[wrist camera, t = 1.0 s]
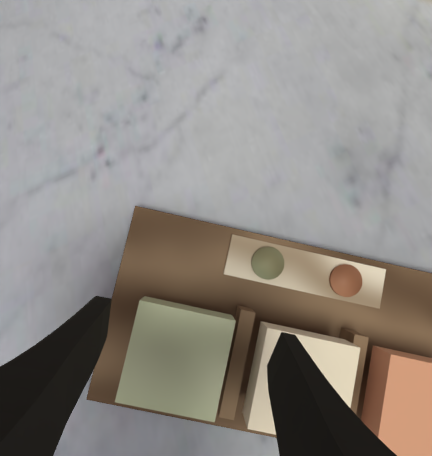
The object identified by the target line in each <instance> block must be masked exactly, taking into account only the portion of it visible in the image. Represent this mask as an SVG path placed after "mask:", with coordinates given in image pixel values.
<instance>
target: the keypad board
mask: <svg viewBox="0 0 432 456" xmlns="http://www.w3.org/2000/svg"><path fill="white" fill-rule="evenodd" d="M145 296H147V297H151V298H156V299H161V300H165V301H170V302H174V303H179V304H184V305H188V306H193V307H198V308H202V309H207V310H211V311H216V312H221V313H225V314H230V315H232V316H233V317H234V319H235V320H236V323H235V327H234V332H233V337H232V342H231V347H230V351H229V356H228V361H227V366H226V371H225V375H224V380H223V385H222V390H221V394H220V399H219V404H218V409H217V414H216V418H215V422H210V421H205V420H200V419H195V418H190V417H185V416H180V415H175V414H170V413H165V412H160V411H155V410H151V409H146V408H141V407H136V406H131V405H126V404H121V403H116V402H115V399H116V395H117V391H118V387H119V383H120V379H121V374H122V370H123V366H124V362H125V358H126V354H127V350H128V346H129V342H130V337H131V333H132V329H133V325H134V321H135V317H136V313H137V309H138V305H139V301H140V300H141V299H142V298H143V297H145ZM261 321H262V322H267V323H272V324H276V325H281V326H285V327H290V328H295V329H299V330H304V331H309V332H313V333H318V334H322V335H327V336H332V337H336V338H341V339H345V340H347V341H349V342H351V343H353V344H354V345H356V346H358V347H360V354H359V360H358V366H357V372H356V378H355V384H354V390H353V396H352V402H351V408H350V409H351V410H352V411H353V412H354V413H355V414H356V415H357V416H358V417H359V418H360V420H361V416H362V410H363V404H364V398H365V391H366V385H367V379H368V373H369V366H370V360H371V354H372V348H373V346H378V347H382V348H387V349H392V350H396V351H401V352H406V353H410V354H415V355H419V356H424V357H429V358H432V273H427V272H423V271H419V270H414V269H410V268H405V267H401V266H397V265H392V264H388V263H384V262H379V261H375V260H370V259H366V258H362V257H357V256H353V255H348V254H344V253H340V252H335V251H331V250H327V249H322V248H318V247H313V246H309V245H305V244H300V243H296V242H291V241H287V240H283V239H278V238H274V237H270V236H265V235H261V234H256V233H252V232H248V231H243V230H239V229H234V228H230V227H226V226H221V225H217V224H212V223H208V222H204V221H199V220H195V219H191V218H186V217H182V216H177V215H173V214H169V213H164V212H160V211H155V210H151V209H147V208H142V207H138V206H135V209H134V213H133V217H132V221H131V225H130V229H129V233H128V237H127V241H126V245H125V249H124V253H123V257H122V261H121V265H120V269H119V273H118V277H117V280H116V284H115V288H114V292H113V296H112V300H111V309H110V317H109V325H108V334H107V338H106V341H105V344H104V346H103V349H102V352H101V354H100V357H99V359H98V362H97V364H96V366H95V368H94V371H93V375H92V379H91V383H90V387H89V391H88V395H87V400H92V401H97V402H102V403H107V404H112V405H117V406H122V407H127V408H132V409H137V410H142V411H147V412H152V413H157V414H161V415H166V416H171V417H176V418H181V419H186V420H191V421H196V422H201V423H206V424H211V425H216V426H221V427H226V428H231V429H236V430H241V431H246V432H251V433H256V434H261V435H266V436H271V437H276V438H277V436H276V435H275V434H270V433H265V432H260V431H255V430H250V429H247V426H246V423H245V419H244V416H243V413H242V412H243V407H244V402H245V397H246V392H247V387H248V382H249V377H250V372H251V367H252V362H253V357H254V352H255V347H256V342H257V337H258V332H259V327H260V322H261Z"/></svg>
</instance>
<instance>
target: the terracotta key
mask: <svg viewBox="0 0 432 456" xmlns="http://www.w3.org/2000/svg"><path fill="white" fill-rule="evenodd" d="M361 421H362V422H363V423H364V424H365V425H366V426H367V427H368V428H369V429H370V430H371V431H372V432H373V433H374V434H375V435H376V436H377V437H378V438H379V439H380V440H381V441H382V442H383V443H384V444H385V445H386V446H387V447H388V448H389V449H390V450H391V451H392V452H394V453H395V454H396V455H397V456H432V358H429V357H424V356H419V355H415V354H410V353H406V352H401V351H396V350H392V349H387V348H382V347H378V346H373V348H372V354H371V360H370V366H369V373H368V379H367V385H366V391H365V398H364V404H363V410H362V416H361Z"/></svg>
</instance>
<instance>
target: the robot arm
mask: <svg viewBox="0 0 432 456" xmlns="http://www.w3.org/2000/svg"><path fill="white" fill-rule="evenodd" d="M111 300H112V299H110V298H104V297H99V296H96V297H94V298H93V299H92V300H91V301H89V302H88V303H87V304H86V305H85V306H84V307H83V308H82V309H81V310H79V311H78V312H77V313H76V314H75V315H74V316H72V317H71V318H70V319H69V320H67V321H66V322H65V323H64V324H62V325H61V326H60V327H59V328H57V329H56V330H55V331H54V332H52V333H51V334H49V335H48V336H47V337H45V338H44V339H43V340H41V341H40V342H38V343H37V344H36V345H34V346H33V347H31V348H30V349H28V350H27V351H25V352H24V353H22V354H21V355H19V356H17V357H16V358H14V359H13V360H11V361H9V362H8V363H6V364H4V365H2V366H1V367H0V456H53V454H54V452H55V450H56V447H57V445H58V442H59V440H60V437H61V435H62V432H63V430H64V428H65V425H66V423H67V421H68V419H69V417H70V415H71V413H72V411H73V409H74V407H75V405H76V403H77V401H78V399H79V397H80V395H81V393H82V391H83V389H84V387H85V385H86V383H87V381H88V379H89V377H90V376H91V374H92V372H93V370H94V368H95V366H96V364H97V362H98V359H99V357H100V354H101V352H102V349H103V346H104V344H105V341H106V338H107V334H108V325H109V317H110V309H111ZM267 380H268V392H269V398H270V403H271V409H272V415H273V420H274V426H275V431H276V436H277V442H278V447H279V454H280V456H397V455H396V454H395V453H394V452H392V451H391V450H390V449H389V448H388V447H387V446H386V445H385V444H384V443H383V442H382V441H381V440H380V439H379V438H378V437H377V436H376V435H375V434H374V433H373V432H372V431H371V430H370V429H369V428H368V427H367V426H366V425H365V424H364V423H363V422H362V421H361V420H360V418H359V417H358V416H357V415H356V414H355V413H354V412H353V411H352V410H351V409H350V407H349V406H348V405H347V404H346V403H345V402H344V400H343V399H342V398H341V397H340V395H339V394H338V393H337V392H336V390H335V389H334V388H333V387H332V385H331V384H330V383H329V382H328V380H327V379H326V378H325V376H324V375H323V374H322V372H321V371H320V369H319V368H318V367H317V365H316V364H315V362H314V361H313V360H312V358H311V357H310V355H309V354H308V352H307V351H306V349H305V348H304V347H303V345H302V344H301V342H300V341H299V339H298V338H297V337H296V335H294V334H289V333H284V332H281V334H280V336H279V339H278V341H277V343H276V346H275V348H274V350H273V353H272V355H271V357H270V360H269V362H268V364H267Z"/></svg>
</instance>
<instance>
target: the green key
mask: <svg viewBox="0 0 432 456" xmlns="http://www.w3.org/2000/svg"><path fill="white" fill-rule="evenodd" d="M235 323H236V320H235V319H234V317H233V316H232V315H230V314H225V313H221V312H216V311H211V310H207V309H202V308H198V307H193V306H188V305H184V304H179V303H174V302H170V301H165V300H161V299H156V298H151V297H147V296H145V297H143V298H142V299H141V300H140V301H139V305H138V309H137V313H136V317H135V321H134V325H133V329H132V333H131V337H130V342H129V346H128V350H127V354H126V358H125V362H124V366H123V370H122V374H121V379H120V383H119V387H118V391H117V395H116V399H115V402H116V403H121V404H126V405H131V406H136V407H141V408H146V409H151V410H155V411H160V412H165V413H170V414H175V415H180V416H185V417H190V418H195V419H200V420H205V421H210V422H215V418H216V414H217V409H218V404H219V399H220V394H221V390H222V385H223V380H224V375H225V371H226V366H227V361H228V356H229V351H230V347H231V342H232V337H233V332H234V327H235Z"/></svg>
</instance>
